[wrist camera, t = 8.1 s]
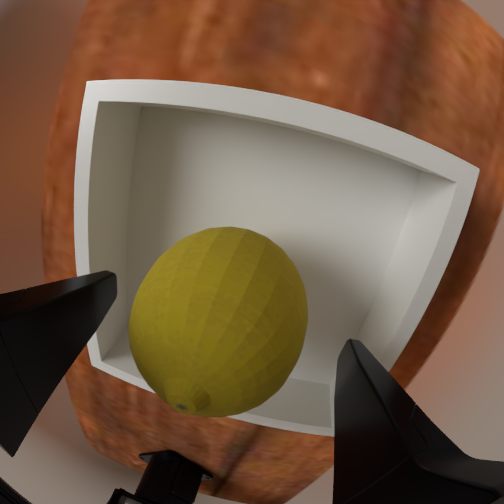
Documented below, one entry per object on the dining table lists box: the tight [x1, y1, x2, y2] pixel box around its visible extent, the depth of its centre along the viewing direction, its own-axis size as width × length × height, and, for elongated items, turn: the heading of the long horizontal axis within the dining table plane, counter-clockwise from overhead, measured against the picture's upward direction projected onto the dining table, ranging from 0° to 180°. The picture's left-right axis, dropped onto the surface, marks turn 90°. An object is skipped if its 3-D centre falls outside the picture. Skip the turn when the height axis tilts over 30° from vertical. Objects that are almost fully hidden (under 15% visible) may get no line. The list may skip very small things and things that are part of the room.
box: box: [74, 80, 480, 437], centre depth 12 cm, size 14×14×4 cm
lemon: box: [128, 226, 308, 417], centre depth 9 cm, size 6×6×8 cm
